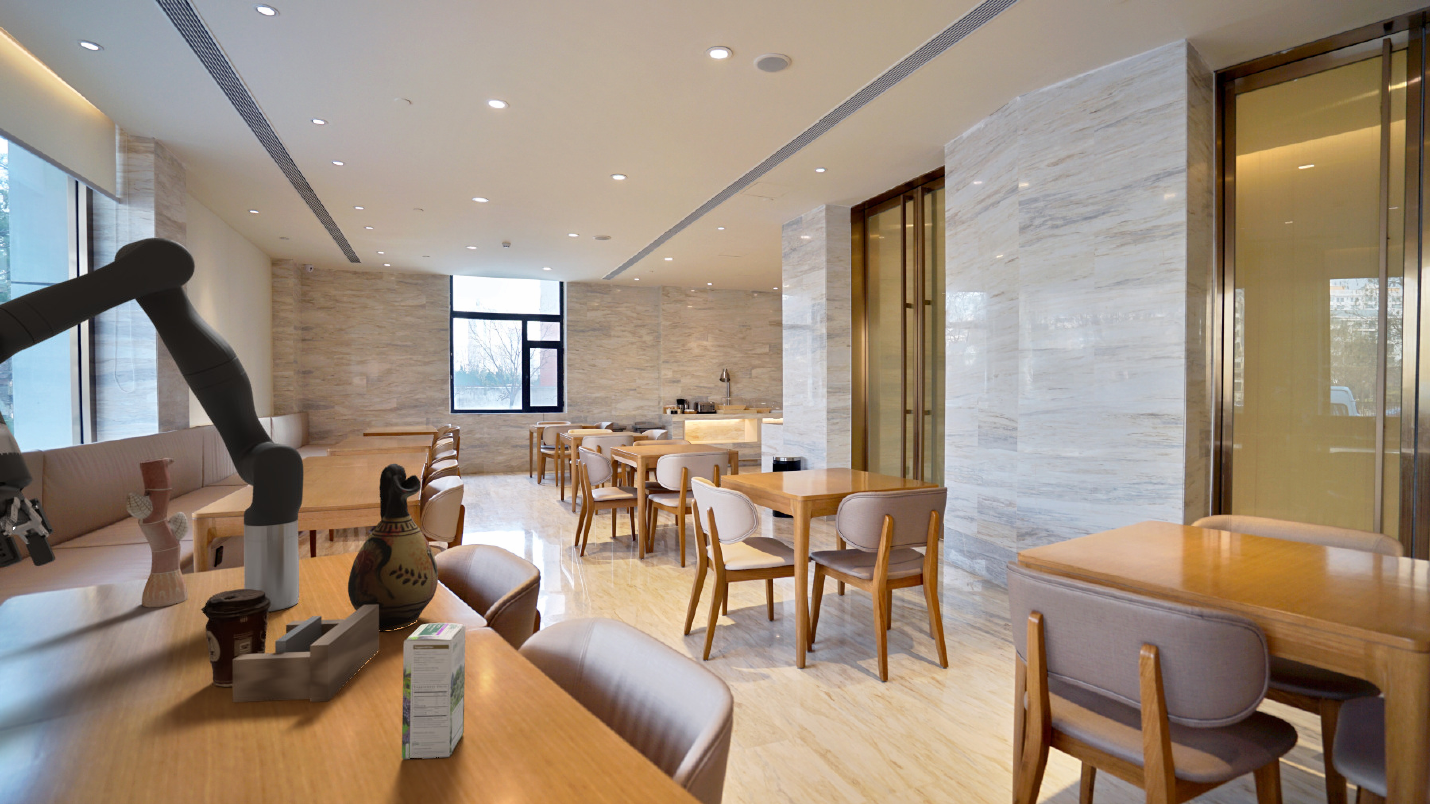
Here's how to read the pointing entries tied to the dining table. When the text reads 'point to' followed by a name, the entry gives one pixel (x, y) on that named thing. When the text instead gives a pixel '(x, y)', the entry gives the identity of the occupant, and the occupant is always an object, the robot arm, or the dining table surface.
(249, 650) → the coffee cup
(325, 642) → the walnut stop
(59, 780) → the dining table surface
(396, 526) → the ceramic jug
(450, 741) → the syrup box
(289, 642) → the pad
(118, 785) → the dining table surface
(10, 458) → the robot arm
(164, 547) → the vase
